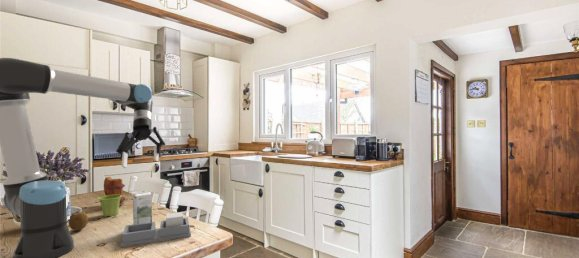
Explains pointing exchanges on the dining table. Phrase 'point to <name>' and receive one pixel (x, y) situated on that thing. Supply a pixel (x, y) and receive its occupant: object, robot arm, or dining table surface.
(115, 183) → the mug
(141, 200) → the syrup box
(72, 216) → the fruit
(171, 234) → the grey box holder
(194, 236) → the dining table surface
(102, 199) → the plant pot
